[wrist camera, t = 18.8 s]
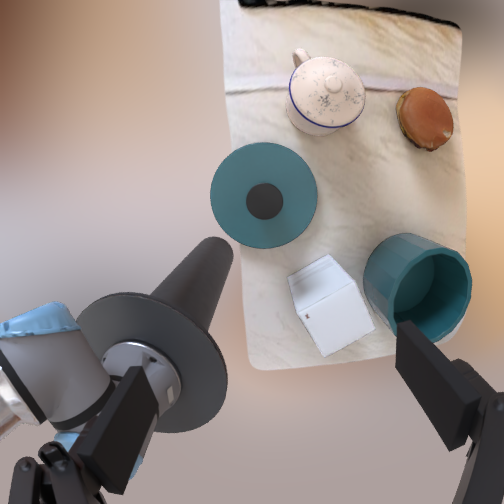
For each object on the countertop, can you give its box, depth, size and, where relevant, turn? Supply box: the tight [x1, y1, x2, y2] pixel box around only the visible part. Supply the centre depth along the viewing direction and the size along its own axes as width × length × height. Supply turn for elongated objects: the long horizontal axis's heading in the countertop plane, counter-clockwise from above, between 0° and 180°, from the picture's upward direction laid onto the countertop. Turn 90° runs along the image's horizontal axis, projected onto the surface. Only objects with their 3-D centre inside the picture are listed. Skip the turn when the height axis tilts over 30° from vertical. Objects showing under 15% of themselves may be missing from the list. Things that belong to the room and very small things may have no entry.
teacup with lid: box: [286, 48, 365, 136], centre depth 33 cm, size 12×9×12 cm
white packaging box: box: [287, 254, 376, 358], centre depth 39 cm, size 7×7×13 cm
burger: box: [396, 87, 453, 152], centre depth 36 cm, size 10×9×5 cm
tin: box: [363, 233, 472, 343], centre depth 39 cm, size 14×14×10 cm
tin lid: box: [210, 143, 317, 249], centre depth 36 cm, size 15×15×13 cm
